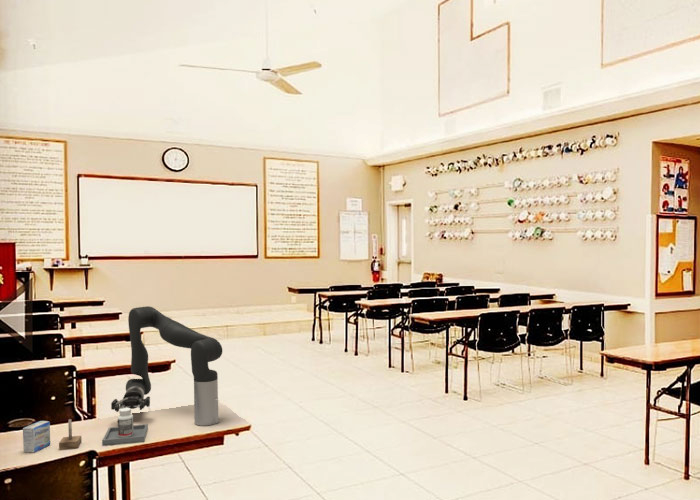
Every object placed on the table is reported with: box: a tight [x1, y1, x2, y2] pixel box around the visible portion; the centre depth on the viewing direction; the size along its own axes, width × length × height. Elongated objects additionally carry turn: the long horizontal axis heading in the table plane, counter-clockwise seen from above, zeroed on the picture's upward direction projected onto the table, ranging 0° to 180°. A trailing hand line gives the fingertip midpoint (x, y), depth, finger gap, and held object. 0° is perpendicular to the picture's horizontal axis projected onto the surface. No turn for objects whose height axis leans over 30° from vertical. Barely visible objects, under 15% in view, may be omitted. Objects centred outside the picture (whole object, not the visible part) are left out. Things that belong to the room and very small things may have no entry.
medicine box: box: [22, 420, 51, 454], centre depth 195 cm, size 8×4×9 cm, turn 168°
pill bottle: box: [117, 408, 134, 438], centre depth 206 cm, size 5×5×10 cm
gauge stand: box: [58, 418, 82, 451], centre depth 197 cm, size 6×6×10 cm
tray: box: [101, 423, 149, 447], centre depth 206 cm, size 14×14×2 cm
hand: (128, 408), depth 215 cm, fingers open, 8 cm apart
